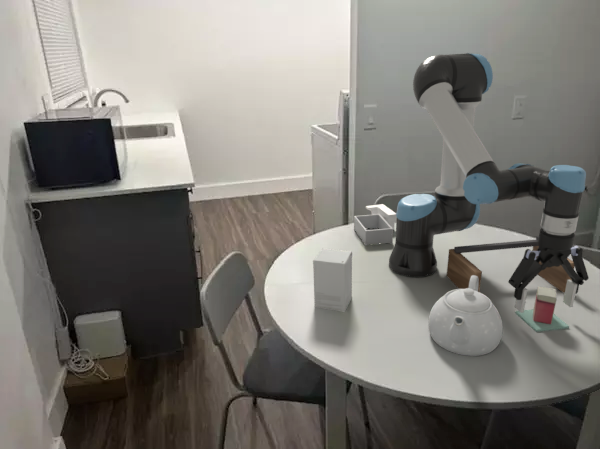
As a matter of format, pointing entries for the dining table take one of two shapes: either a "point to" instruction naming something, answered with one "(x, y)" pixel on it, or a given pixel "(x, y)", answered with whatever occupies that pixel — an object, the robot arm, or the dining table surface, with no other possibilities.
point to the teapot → (466, 321)
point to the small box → (544, 305)
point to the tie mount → (464, 269)
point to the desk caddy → (373, 236)
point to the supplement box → (333, 279)
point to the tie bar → (496, 246)
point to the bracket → (384, 213)
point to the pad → (539, 326)
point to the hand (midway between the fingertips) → (543, 307)
